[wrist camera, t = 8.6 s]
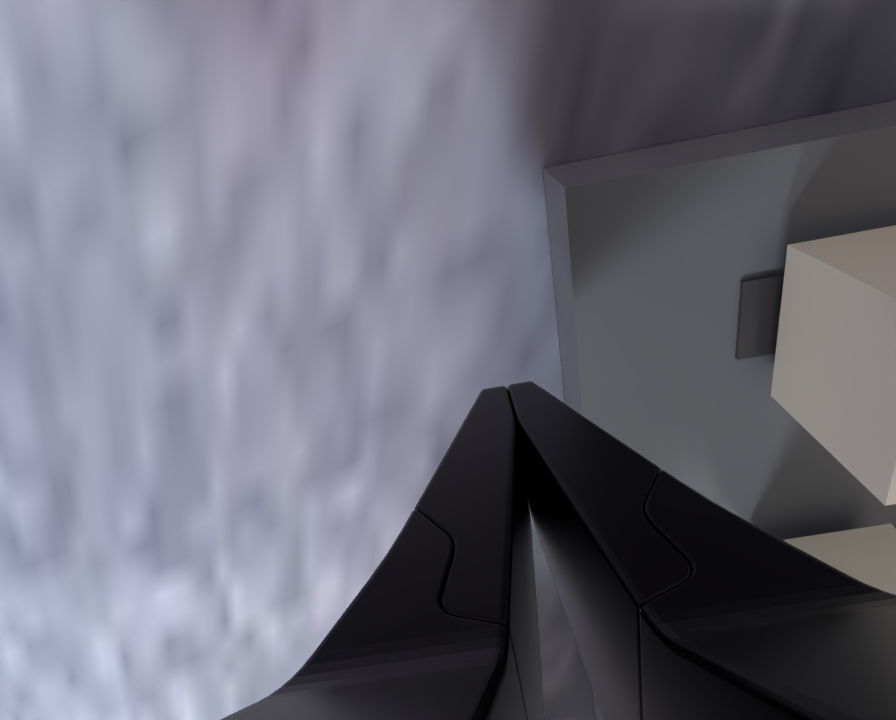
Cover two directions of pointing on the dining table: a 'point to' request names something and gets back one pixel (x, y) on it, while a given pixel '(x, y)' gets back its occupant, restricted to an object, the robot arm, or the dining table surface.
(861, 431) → the tab
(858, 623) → the robot arm
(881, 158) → the switch panel
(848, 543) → the tab
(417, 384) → the dining table surface
